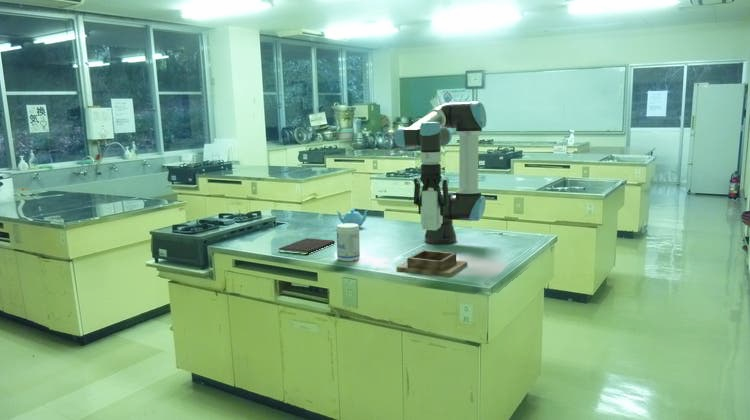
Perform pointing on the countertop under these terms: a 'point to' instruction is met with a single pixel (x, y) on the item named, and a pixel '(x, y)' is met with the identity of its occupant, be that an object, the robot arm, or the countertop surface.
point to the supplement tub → (348, 242)
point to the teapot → (353, 217)
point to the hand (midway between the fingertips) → (431, 223)
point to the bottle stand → (433, 263)
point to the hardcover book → (307, 245)
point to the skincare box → (430, 210)
